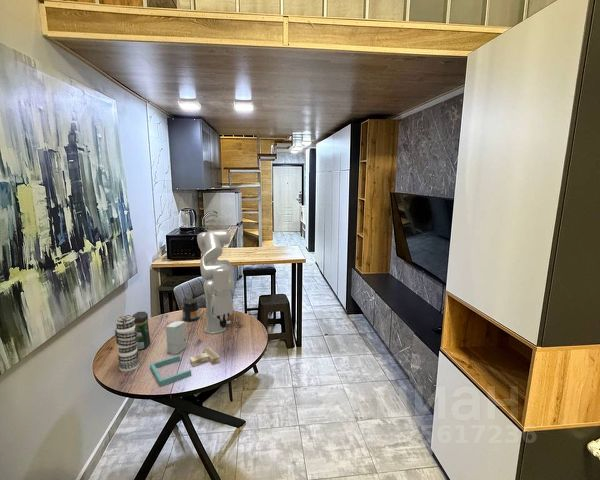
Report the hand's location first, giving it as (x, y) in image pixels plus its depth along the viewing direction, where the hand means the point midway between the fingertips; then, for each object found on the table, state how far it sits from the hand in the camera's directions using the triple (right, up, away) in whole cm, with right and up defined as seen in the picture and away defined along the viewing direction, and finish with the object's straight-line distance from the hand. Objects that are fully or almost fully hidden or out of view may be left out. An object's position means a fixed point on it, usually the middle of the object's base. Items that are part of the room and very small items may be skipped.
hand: (223, 326), depth 162 cm
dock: (-21, -17, -13) cm, 30 cm away
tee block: (-9, -16, -4) cm, 19 cm away
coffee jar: (-47, -14, +11) cm, 50 cm away
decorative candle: (-43, -17, -8) cm, 47 cm away
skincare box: (-26, -14, +7) cm, 31 cm away
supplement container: (-32, -8, +47) cm, 58 cm away
